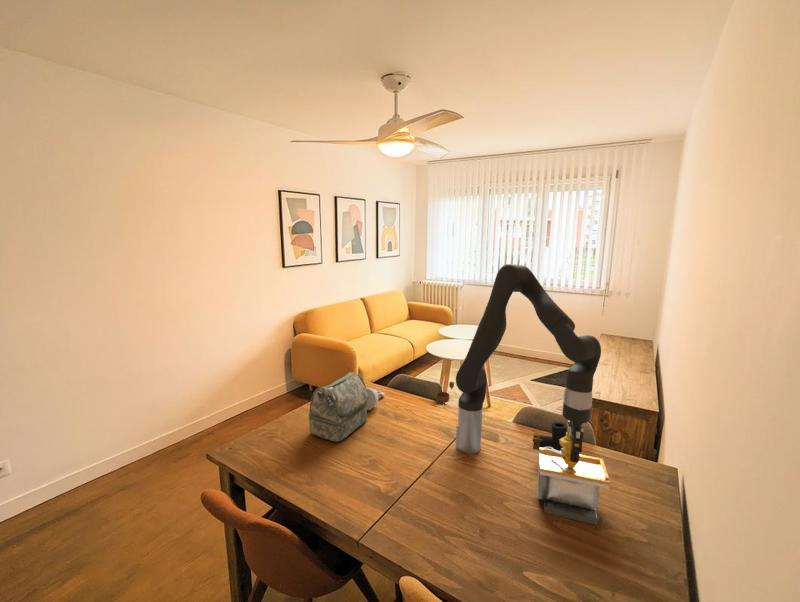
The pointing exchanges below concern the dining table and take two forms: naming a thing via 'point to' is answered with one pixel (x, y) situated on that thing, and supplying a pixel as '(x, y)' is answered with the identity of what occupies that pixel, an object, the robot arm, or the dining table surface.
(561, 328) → the robot arm
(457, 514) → the dining table surface
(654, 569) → the dining table surface
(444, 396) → the place setting
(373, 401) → the engine component
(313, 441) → the dining table surface
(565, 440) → the pressure relief valve
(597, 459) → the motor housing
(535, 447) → the pipe connector
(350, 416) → the lunch bag
